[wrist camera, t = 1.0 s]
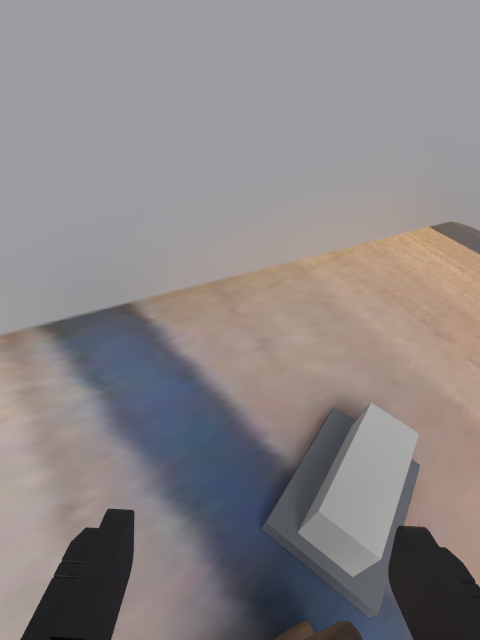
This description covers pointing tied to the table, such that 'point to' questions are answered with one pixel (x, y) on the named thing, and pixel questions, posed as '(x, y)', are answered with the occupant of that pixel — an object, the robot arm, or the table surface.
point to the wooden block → (321, 632)
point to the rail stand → (349, 503)
